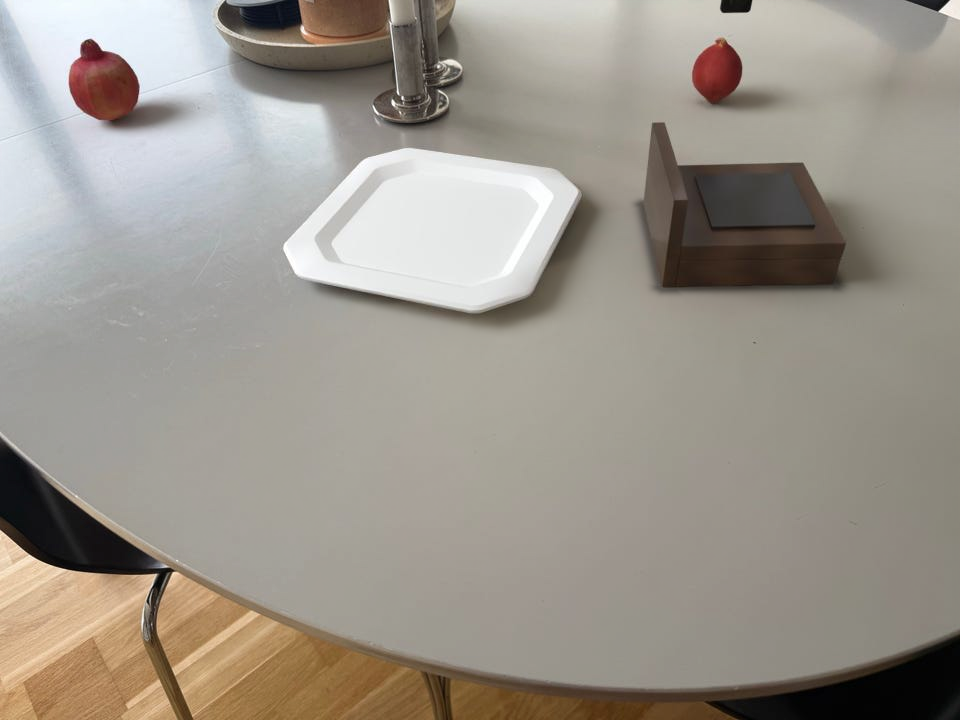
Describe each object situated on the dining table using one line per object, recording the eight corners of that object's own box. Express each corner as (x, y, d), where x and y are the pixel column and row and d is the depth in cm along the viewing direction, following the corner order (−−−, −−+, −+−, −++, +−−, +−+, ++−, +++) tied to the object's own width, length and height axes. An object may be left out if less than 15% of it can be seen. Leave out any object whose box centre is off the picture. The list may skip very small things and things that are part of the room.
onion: (700, 88, 103) (709, 24, 98) (744, 98, 101) (756, 33, 95) (680, 106, 100) (689, 40, 94) (725, 116, 97) (736, 50, 92)
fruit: (150, 125, 102) (123, 45, 95) (82, 138, 100) (50, 57, 93) (147, 99, 108) (121, 22, 101) (82, 111, 106) (52, 33, 99)
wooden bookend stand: (793, 200, 83) (814, 118, 77) (833, 284, 73) (861, 196, 67) (643, 204, 84) (652, 122, 78) (662, 287, 74) (673, 200, 67)
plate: (517, 337, 69) (517, 317, 68) (265, 285, 76) (260, 266, 75) (591, 191, 86) (592, 172, 85) (379, 159, 93) (377, 141, 92)
